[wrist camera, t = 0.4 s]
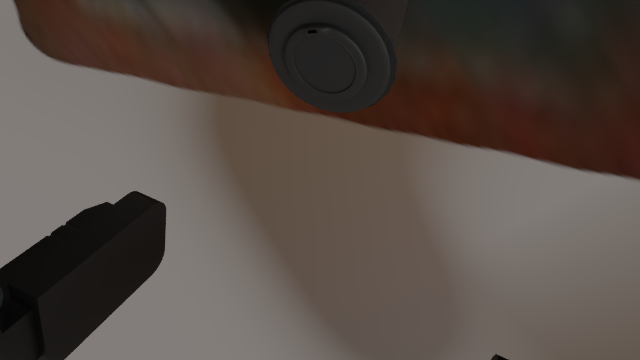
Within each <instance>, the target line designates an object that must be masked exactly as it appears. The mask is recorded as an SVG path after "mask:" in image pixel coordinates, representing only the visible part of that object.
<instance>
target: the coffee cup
mask: <svg viewBox="0 0 640 360" xmlns="http://www.w3.org/2000/svg"><path fill="white" fill-rule="evenodd" d="M407 3H408V0H288V1H287V2H285V3H283V4H282V5H281V6H280V8H279V9H278V11H277V12H276V13H275V15H274V16H273V17H272V19H271V23H270V27H269V31H268V35H267V37H268V46H269V55H270V58H271V61H272V64H273V67H274V69H275V71H276V73H277V75H278V76H279V78H280V79H281V81H282V82H283V83H284V84H285V85H286V87H287V88H288V89H289V90H290V91H291V92H293V93H294V94H295V95H296V96H297V97H299V98H300V99H302V100H303V101H305V102H307V103H308V104H310V105H312V106H315V107H317V108H320V109H323V110H327V111H332V112H353V111H358V110H361V109H363V108H366V107H369V106H372V105H374V104H376V103H377V102H378V101H379V100H380V99H382V98H383V97H384V96H385V95H386V94H387V93H388V92H389V90H390V88H391V86H392V84H393V82H394V80H395V78H396V69H397V56H396V52H395V50H396V46H397V42H398V38H399V34H400V30H401V26H402V23H403V19H404V15H405V11H406V7H407Z"/></svg>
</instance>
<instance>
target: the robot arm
mask: <svg viewBox="0 0 640 360" xmlns="http://www.w3.org/2000/svg"><path fill="white" fill-rule="evenodd" d="M165 227H166V206H165V204H164V203H162V202H160V201H157V200H155V199H153V198H151V197H149V196H146V195H144V194H142V193H140V192H137V191H133V192H130V193H129V194H127V195H126V196H125V197H123V198H122V199H120V200H119V201H118V202H116V203H115V204H114V205H113V204H111V203H108V202H105V203H103V204H99V205H97V206H94V207H91V208H88V209H85V210H83V211H82V212H80V213H79V214H77V215H76V216H75V217H73V218H72V219H70V220H69V221H67V222H66V225H64V226H63V225H62V226H60V227H59V228H57V229H56V230H55V231H53V232H52V233H51V235H50V236H46V237H45V238H43V239H42V240H40V241H39V242H38V243H36V244H35V245H33V246H32V247H31V248H29V249H27V250H26V251H25V252H23V253H22V254H20V255H19V256H18V257H16V258H15V259H13V260H12V261H10V262H9V263H8V264H6V265H5V266H3V267H2V268H1V269H0V360H64V359H65V358H66V357H67V356H68V355H70V354H71V352H73V351H74V350H75V349H76V348H77V347H78V346H79V345H80V344H81V343H82V342H83V341H84V340H85V339H86V338H87V337H88V336H89V335H90V334H91V333H92V332H93V331H94V330H95V329H96V328H97V327H98V326H100V324H102V323H103V322H104V321H105V320H106V319H107V318H108V317H109V316H110V315H111V314H112V313H113V312H114V311H115V310H116V309H117V308H118V307H119V306H120V305H121V304H122V303H123V302H124V301H125V300H126V299H127V298H128V297H130V296H131V295H132V294H133V293H134V292H135V291H136V290H137V289H138V288H139V287H140V286H141V285H142V284H143V283H144V282H145V281H146V280H147V279H148V278H149V277H150V276H151V275H152V274H153V273H154V272H155V271H156V269H157V268H158V266H159V265H160V263H161V261H162V258H163V256H164V251H165V229H166V228H165ZM491 360H508V359H506V358H503V357H501V356H499V355H497V354H496V355H494V356H493V357H492V359H491Z"/></svg>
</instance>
